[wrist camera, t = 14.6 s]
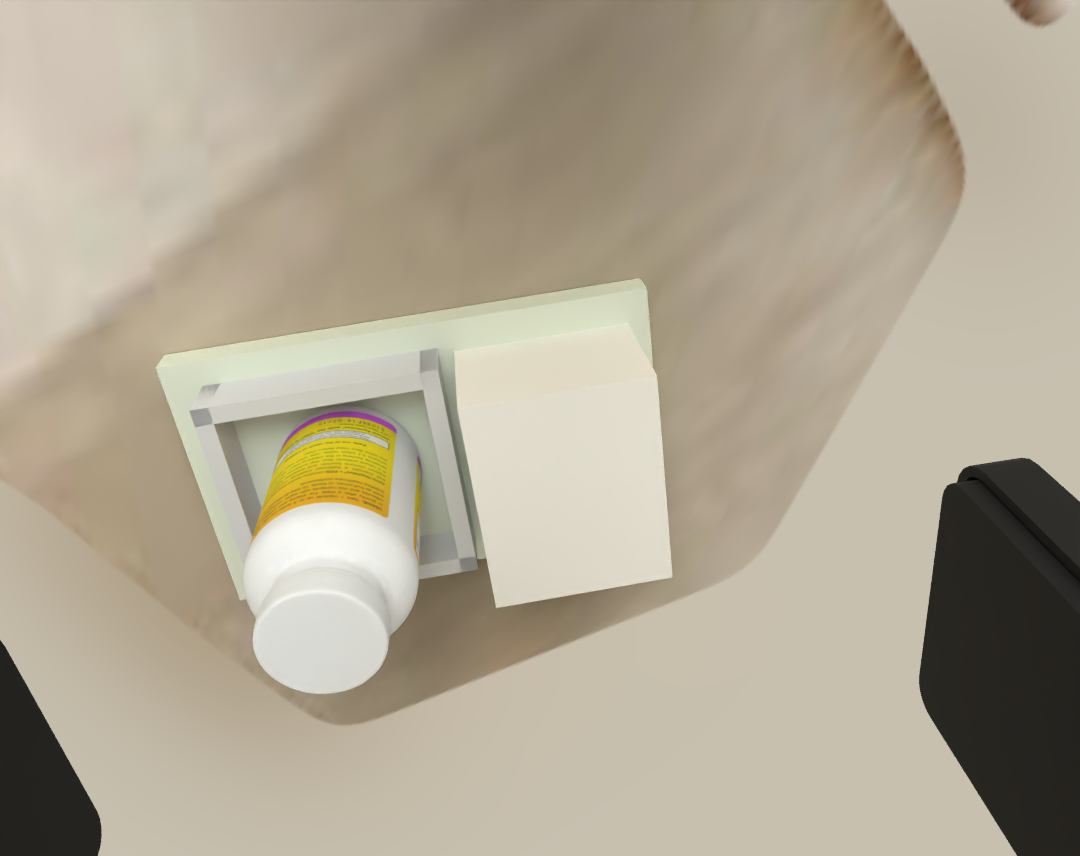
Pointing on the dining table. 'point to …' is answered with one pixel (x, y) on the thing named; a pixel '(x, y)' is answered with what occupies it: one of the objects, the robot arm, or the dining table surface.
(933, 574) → the robot arm
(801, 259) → the dining table surface
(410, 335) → the square frame tray
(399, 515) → the supplement bottle
